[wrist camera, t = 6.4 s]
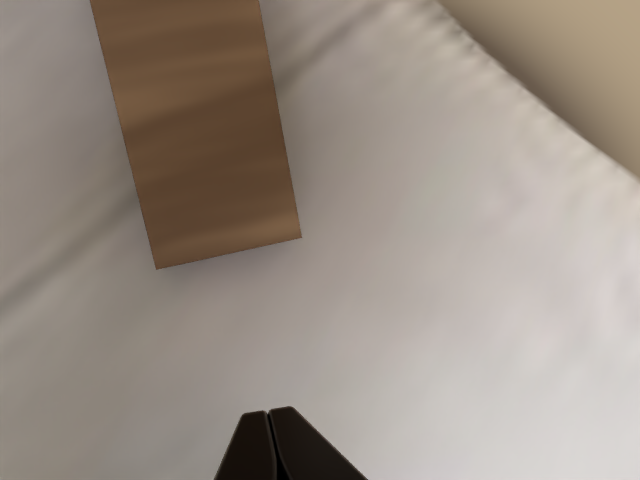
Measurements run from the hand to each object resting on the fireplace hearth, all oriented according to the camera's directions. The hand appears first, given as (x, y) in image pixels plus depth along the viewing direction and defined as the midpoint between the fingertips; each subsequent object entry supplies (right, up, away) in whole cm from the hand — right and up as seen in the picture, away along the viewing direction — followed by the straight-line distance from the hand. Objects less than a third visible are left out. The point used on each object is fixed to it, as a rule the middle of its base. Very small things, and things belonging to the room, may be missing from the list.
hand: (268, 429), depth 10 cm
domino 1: (-2, +3, +12) cm, 12 cm away
